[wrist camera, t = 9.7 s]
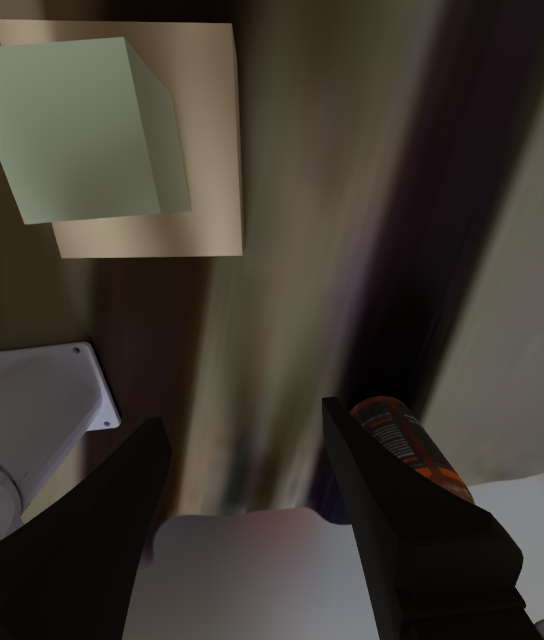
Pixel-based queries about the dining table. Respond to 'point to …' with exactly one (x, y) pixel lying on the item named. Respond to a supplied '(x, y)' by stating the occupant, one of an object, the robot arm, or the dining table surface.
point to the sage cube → (87, 133)
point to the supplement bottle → (408, 441)
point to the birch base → (194, 135)
